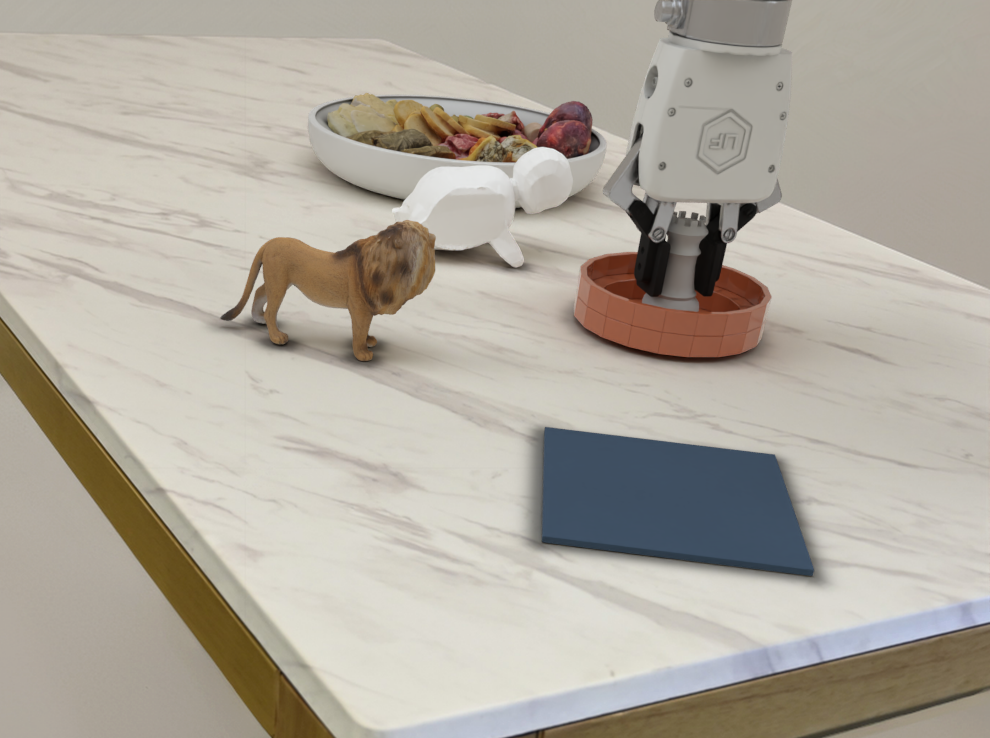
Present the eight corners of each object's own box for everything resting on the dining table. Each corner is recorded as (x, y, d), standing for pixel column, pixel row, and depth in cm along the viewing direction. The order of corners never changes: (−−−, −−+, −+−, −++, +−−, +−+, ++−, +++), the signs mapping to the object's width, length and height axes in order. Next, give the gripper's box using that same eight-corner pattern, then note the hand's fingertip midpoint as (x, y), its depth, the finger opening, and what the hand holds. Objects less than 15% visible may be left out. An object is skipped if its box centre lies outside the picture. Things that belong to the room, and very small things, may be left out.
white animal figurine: (425, 301, 106) (596, 239, 105) (396, 204, 101) (574, 139, 100) (408, 268, 113) (568, 210, 112) (379, 176, 108) (546, 115, 107)
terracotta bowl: (746, 307, 101) (757, 263, 99) (771, 372, 89) (784, 323, 88) (572, 288, 102) (579, 243, 100) (573, 349, 90) (582, 300, 88)
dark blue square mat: (773, 460, 77) (775, 454, 77) (812, 576, 65) (814, 569, 65) (544, 432, 78) (545, 426, 78) (541, 542, 66) (542, 536, 66)
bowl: (333, 215, 114) (338, 124, 110) (286, 136, 139) (289, 59, 134) (643, 222, 121) (659, 136, 116) (545, 145, 145) (555, 72, 141)
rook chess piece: (633, 310, 97) (653, 204, 93) (691, 314, 97) (713, 210, 93) (641, 330, 94) (662, 221, 89) (701, 335, 94) (725, 227, 89)
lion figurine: (432, 343, 89) (445, 215, 84) (419, 371, 85) (433, 236, 80) (230, 315, 91) (232, 187, 86) (208, 340, 86) (208, 207, 81)
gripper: (635, 26, 79) (588, 309, 89) (867, 37, 83) (797, 307, 93) (592, 7, 86) (552, 274, 95) (810, 19, 89) (750, 274, 99)
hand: (673, 288), depth 94 cm, fingers closed on rook chess piece, 3 cm apart
